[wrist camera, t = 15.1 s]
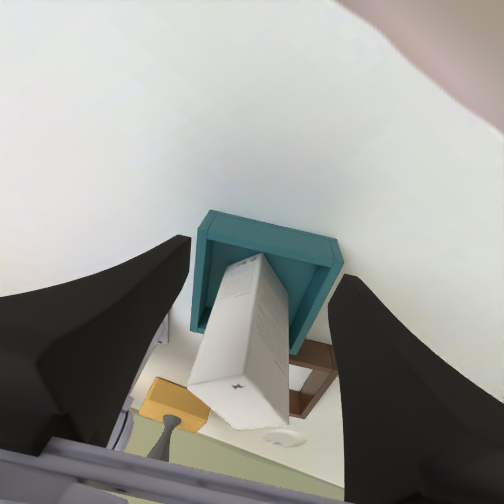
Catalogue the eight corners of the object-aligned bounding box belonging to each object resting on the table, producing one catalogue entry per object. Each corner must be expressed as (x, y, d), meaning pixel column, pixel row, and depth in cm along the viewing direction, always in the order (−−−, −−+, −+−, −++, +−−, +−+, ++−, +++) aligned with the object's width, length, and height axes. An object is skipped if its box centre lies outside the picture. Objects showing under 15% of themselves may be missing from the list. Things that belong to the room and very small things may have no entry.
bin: (199, 306, 28) (189, 331, 25) (209, 209, 21) (197, 228, 18) (295, 328, 28) (296, 355, 25) (336, 239, 21) (344, 262, 18)
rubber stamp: (213, 397, 40) (189, 497, 30) (201, 410, 43) (175, 504, 33) (157, 376, 38) (111, 474, 28) (148, 390, 41) (105, 484, 31)
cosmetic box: (225, 265, 24) (181, 387, 14) (263, 250, 22) (244, 374, 12) (254, 306, 26) (235, 433, 16) (290, 295, 25) (292, 427, 15)
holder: (221, 377, 36) (216, 399, 34) (234, 322, 29) (228, 345, 26) (303, 395, 36) (304, 419, 34) (336, 346, 29) (341, 371, 27)
